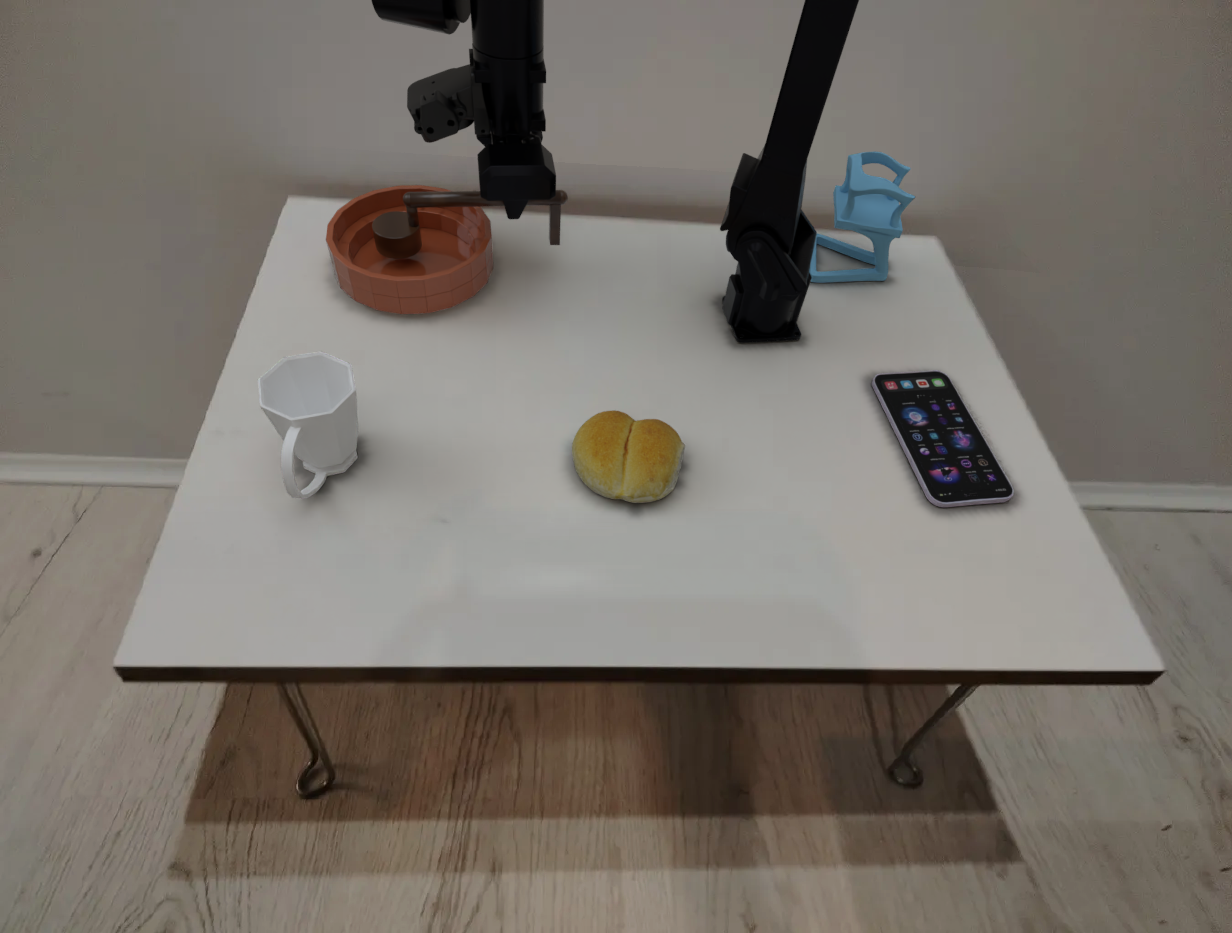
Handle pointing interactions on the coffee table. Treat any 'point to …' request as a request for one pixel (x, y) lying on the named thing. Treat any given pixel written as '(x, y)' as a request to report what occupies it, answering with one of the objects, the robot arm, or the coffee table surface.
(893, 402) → the smartphone
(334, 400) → the cup
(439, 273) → the bowl
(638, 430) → the bread roll
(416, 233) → the ladle
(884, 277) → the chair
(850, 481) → the coffee table surface
